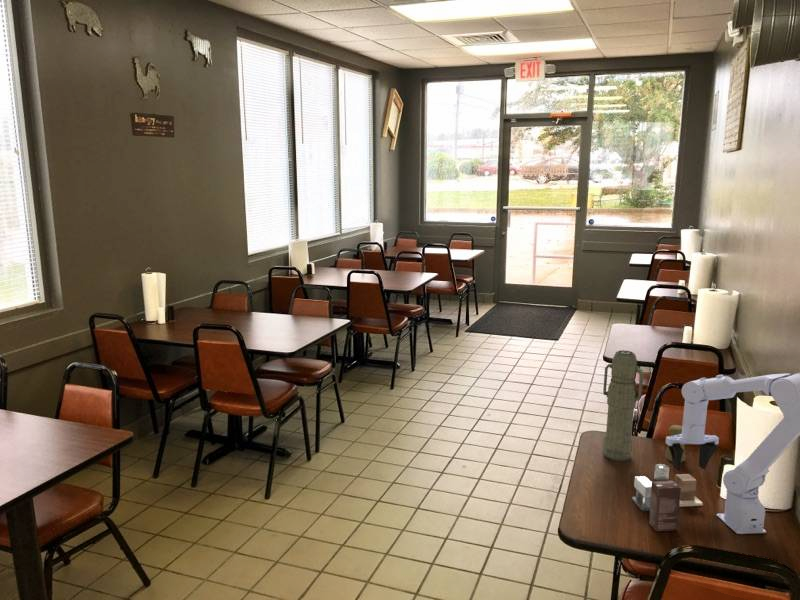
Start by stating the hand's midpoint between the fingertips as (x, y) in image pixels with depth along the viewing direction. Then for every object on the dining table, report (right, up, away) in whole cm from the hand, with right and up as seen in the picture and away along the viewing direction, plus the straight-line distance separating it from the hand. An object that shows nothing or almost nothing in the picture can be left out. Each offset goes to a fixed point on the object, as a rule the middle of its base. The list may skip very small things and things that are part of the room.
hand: (689, 468), depth 180 cm
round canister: (-2, -7, +14) cm, 16 cm away
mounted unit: (-14, -10, -2) cm, 17 cm away
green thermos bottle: (-10, -4, +30) cm, 32 cm away
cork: (+8, -5, +29) cm, 30 cm away
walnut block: (-1, -9, +1) cm, 9 cm away
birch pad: (-1, -9, +1) cm, 9 cm away
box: (-13, -12, -13) cm, 22 cm away
